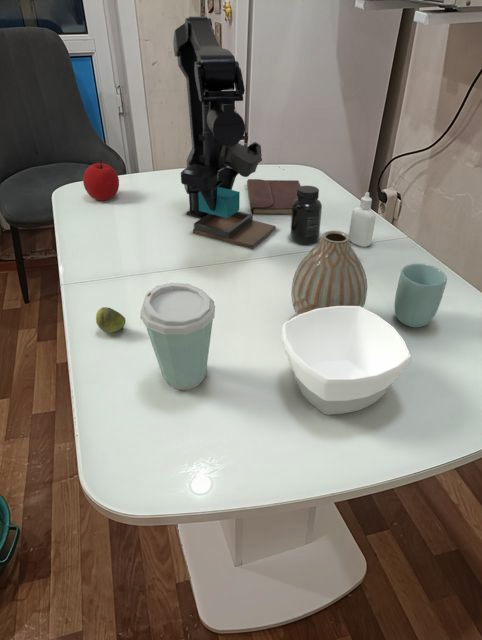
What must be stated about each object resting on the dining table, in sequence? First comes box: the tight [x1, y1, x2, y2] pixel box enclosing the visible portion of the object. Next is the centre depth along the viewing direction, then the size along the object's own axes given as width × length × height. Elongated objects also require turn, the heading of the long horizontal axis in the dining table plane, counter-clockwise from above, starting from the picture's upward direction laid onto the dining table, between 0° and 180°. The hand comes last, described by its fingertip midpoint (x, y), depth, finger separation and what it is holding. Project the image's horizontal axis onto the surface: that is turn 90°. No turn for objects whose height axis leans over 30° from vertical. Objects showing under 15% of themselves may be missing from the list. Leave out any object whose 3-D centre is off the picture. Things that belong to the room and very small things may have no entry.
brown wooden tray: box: [192, 210, 277, 250], centre depth 122 cm, size 16×12×2 cm
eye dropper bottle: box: [348, 191, 377, 248], centre depth 116 cm, size 4×6×12 cm
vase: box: [290, 230, 368, 316], centre depth 88 cm, size 13×13×18 cm
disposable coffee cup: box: [140, 282, 216, 391], centre depth 76 cm, size 11×11×15 cm
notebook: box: [246, 178, 302, 215], centre depth 138 cm, size 15×20×2 cm
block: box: [198, 187, 241, 218], centre depth 107 cm, size 5×7×4 cm
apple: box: [82, 158, 120, 201], centre depth 133 cm, size 9×9×10 cm
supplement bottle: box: [289, 185, 323, 245], centre depth 117 cm, size 7×7×12 cm
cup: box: [393, 263, 448, 328], centre depth 92 cm, size 8×8×10 cm
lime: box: [95, 306, 127, 333], centre depth 88 cm, size 4×5×5 cm
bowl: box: [280, 306, 412, 415], centre depth 78 cm, size 18×18×9 cm
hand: (219, 205), depth 108 cm, fingers closed on block, 5 cm apart
